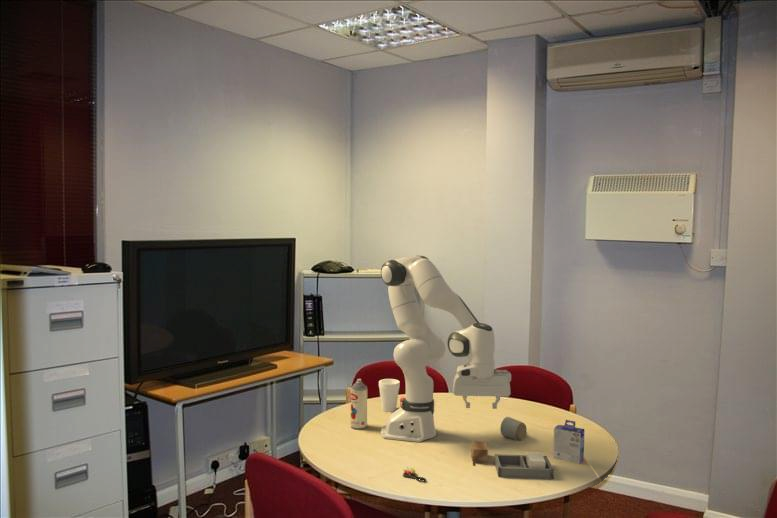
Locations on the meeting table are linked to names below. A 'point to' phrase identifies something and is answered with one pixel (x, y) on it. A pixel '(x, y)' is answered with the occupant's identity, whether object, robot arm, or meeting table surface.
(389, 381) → the foam cup
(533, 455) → the off-white block
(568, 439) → the ink cartridge box
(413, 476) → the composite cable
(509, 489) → the meeting table surface
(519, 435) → the ceramic mug
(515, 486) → the meeting table surface
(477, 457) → the walnut block
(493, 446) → the meeting table surface
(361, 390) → the aerosol can
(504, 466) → the holder
